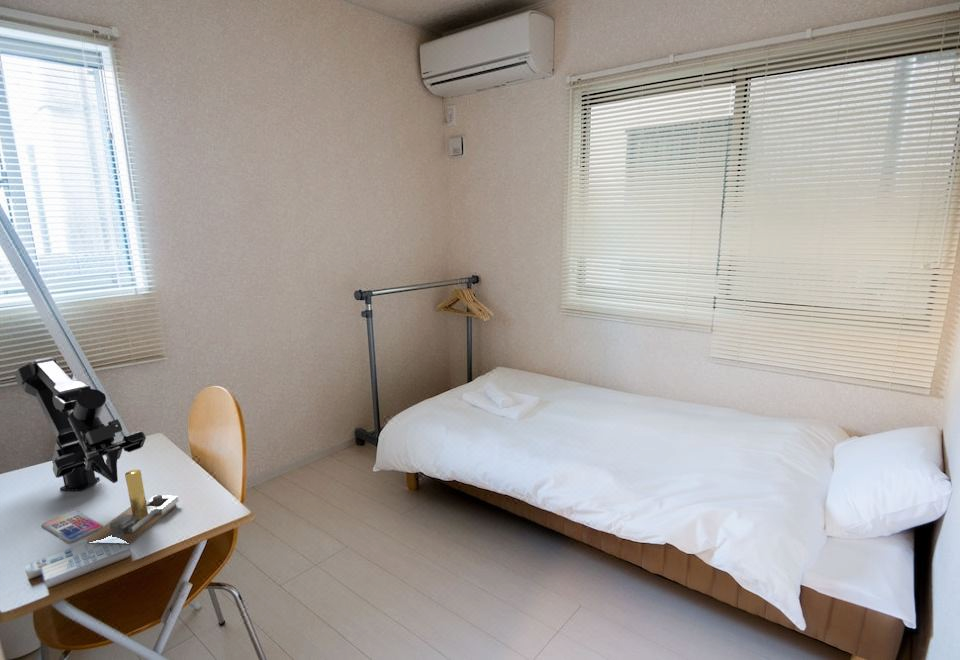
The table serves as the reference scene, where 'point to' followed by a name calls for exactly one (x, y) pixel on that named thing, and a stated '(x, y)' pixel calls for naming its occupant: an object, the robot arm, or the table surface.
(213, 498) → the table surface
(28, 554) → the table surface
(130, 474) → the link
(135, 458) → the table surface
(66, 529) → the smartphone
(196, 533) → the table surface
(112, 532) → the keeper board
